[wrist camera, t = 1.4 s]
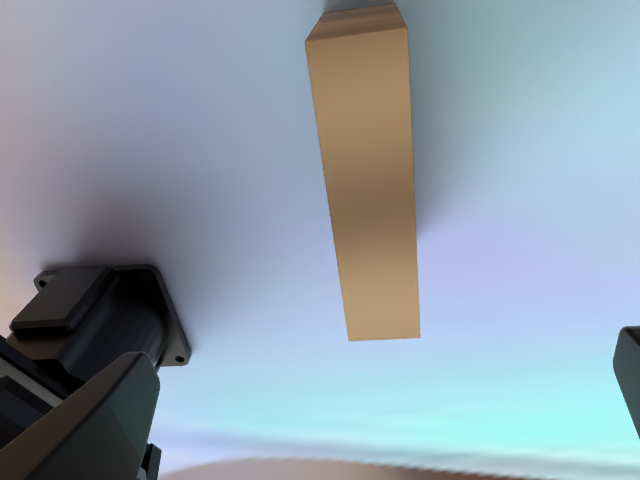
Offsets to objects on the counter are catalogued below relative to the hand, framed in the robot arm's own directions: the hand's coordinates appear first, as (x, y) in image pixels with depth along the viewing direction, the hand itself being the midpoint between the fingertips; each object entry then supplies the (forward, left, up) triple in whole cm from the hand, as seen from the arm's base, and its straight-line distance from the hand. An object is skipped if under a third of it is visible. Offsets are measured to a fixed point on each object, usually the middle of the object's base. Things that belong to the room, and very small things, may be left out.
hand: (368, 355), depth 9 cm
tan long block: (0, 0, -12) cm, 12 cm away
